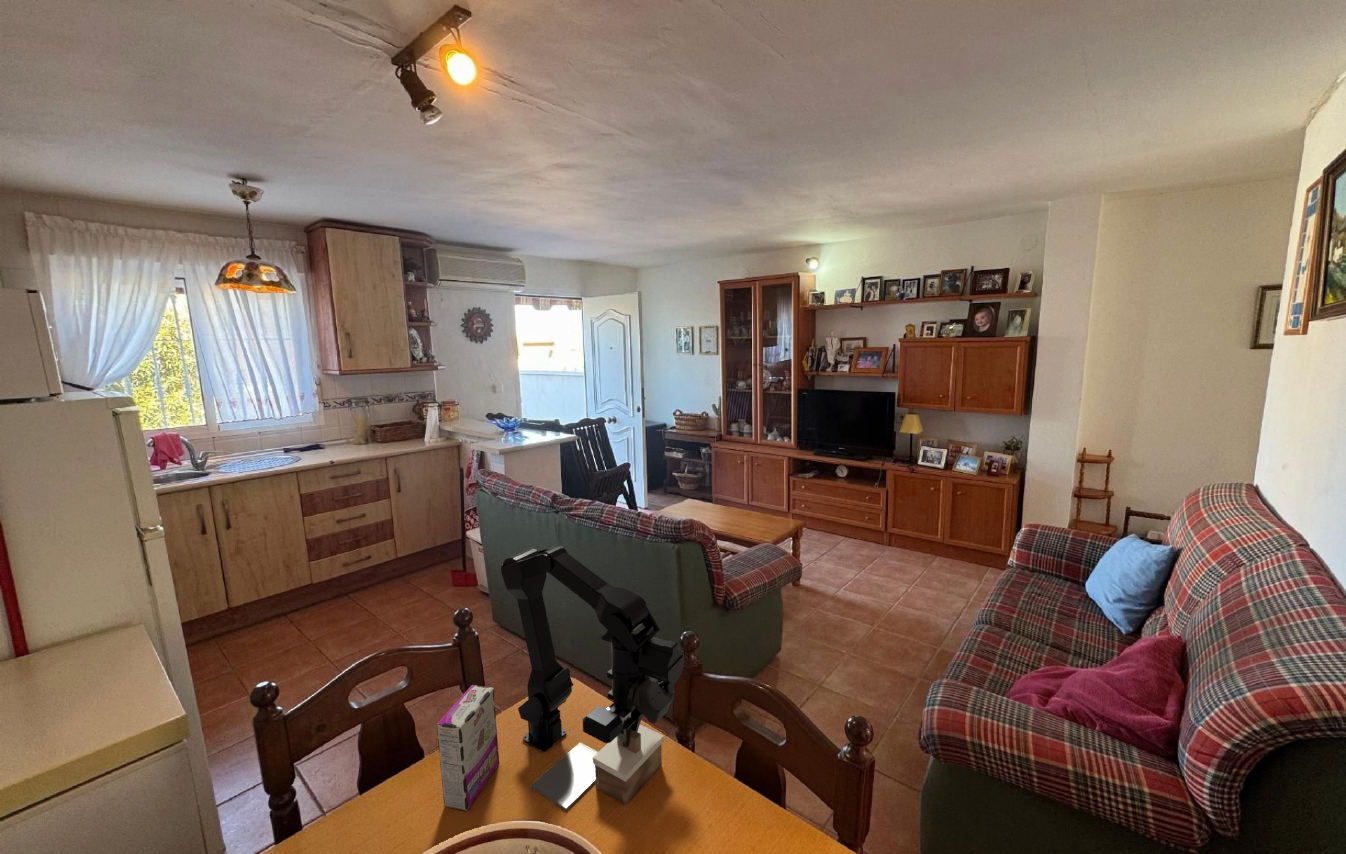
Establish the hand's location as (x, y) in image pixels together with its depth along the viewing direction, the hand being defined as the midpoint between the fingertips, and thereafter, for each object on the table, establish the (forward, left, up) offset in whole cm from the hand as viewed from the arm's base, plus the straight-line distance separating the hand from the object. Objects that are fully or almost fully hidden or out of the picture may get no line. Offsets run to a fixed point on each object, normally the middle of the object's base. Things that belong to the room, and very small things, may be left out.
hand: (628, 743), depth 100 cm
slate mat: (-9, -6, -7) cm, 13 cm away
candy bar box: (-23, -18, -7) cm, 30 cm away
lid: (0, 0, -2) cm, 2 cm away
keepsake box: (0, 0, -7) cm, 7 cm away
